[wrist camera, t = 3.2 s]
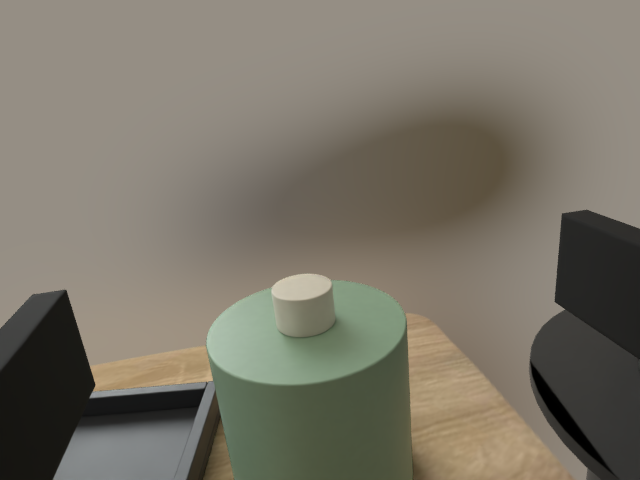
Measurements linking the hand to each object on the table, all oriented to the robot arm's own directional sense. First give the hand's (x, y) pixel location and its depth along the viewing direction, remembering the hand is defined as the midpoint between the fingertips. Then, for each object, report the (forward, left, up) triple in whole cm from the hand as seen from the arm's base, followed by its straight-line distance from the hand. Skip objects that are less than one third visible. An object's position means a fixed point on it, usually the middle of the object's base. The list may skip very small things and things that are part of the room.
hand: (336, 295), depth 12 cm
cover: (+2, -10, -16) cm, 19 cm away
